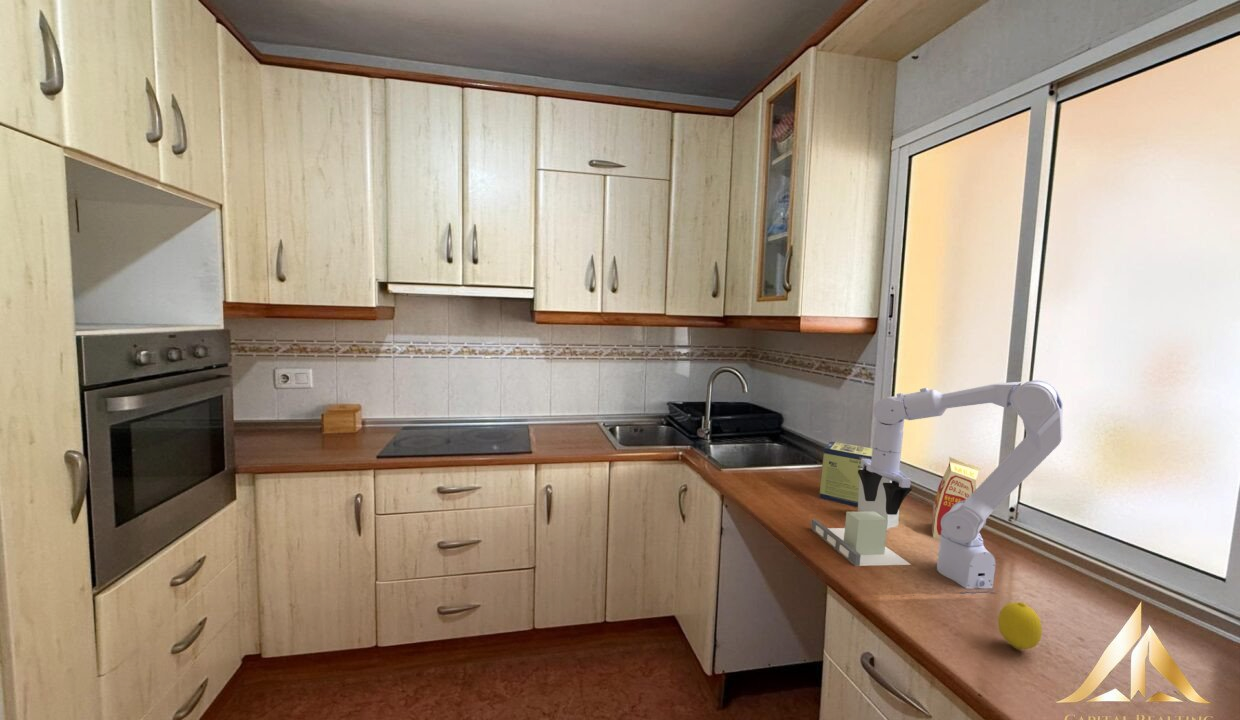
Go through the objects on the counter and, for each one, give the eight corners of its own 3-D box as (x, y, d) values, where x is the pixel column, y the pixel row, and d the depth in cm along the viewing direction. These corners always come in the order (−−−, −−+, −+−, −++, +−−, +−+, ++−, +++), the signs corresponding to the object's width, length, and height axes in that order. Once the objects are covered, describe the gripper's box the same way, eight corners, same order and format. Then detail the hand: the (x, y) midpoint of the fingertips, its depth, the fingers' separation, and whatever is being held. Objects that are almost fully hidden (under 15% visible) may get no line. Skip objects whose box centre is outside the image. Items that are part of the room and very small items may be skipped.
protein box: (876, 511, 139) (882, 457, 137) (818, 498, 147) (823, 447, 145) (879, 500, 147) (885, 449, 146) (824, 488, 155) (828, 440, 154)
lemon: (1018, 638, 84) (1024, 593, 83) (1047, 661, 79) (1054, 613, 78) (987, 637, 84) (992, 592, 83) (1014, 660, 78) (1020, 612, 78)
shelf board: (910, 569, 106) (912, 553, 106) (853, 571, 104) (855, 554, 104) (858, 532, 124) (860, 518, 123) (809, 533, 122) (811, 519, 121)
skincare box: (898, 529, 127) (904, 473, 125) (885, 534, 124) (891, 476, 122) (866, 517, 134) (872, 464, 132) (854, 521, 130) (859, 467, 129)
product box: (884, 554, 110) (888, 519, 109) (855, 555, 109) (858, 520, 108) (870, 543, 115) (873, 510, 114) (842, 544, 114) (845, 510, 113)
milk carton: (933, 537, 123) (942, 459, 121) (929, 524, 131) (938, 451, 129) (977, 547, 119) (987, 466, 117) (971, 533, 127) (980, 457, 125)
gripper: (851, 440, 118) (845, 495, 120) (891, 458, 104) (885, 520, 105) (878, 441, 119) (872, 495, 121) (922, 459, 105) (915, 520, 106)
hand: (880, 507), depth 113 cm, fingers open, 7 cm apart
